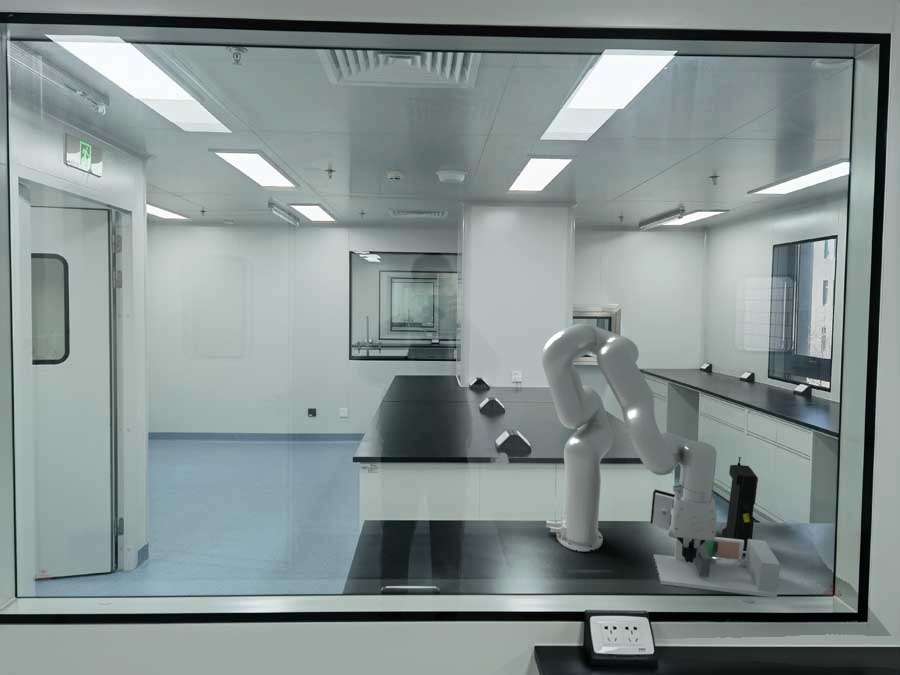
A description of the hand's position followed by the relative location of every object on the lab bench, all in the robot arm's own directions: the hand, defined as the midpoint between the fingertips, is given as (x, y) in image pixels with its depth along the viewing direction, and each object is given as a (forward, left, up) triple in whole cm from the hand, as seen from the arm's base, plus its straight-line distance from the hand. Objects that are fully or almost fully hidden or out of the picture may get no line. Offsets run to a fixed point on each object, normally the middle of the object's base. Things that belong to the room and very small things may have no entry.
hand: (688, 559), depth 138 cm
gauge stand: (+6, 0, -4) cm, 7 cm away
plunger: (+8, 0, -2) cm, 8 cm away
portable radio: (+16, +15, -4) cm, 22 cm away
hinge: (+2, +23, -4) cm, 23 cm away
